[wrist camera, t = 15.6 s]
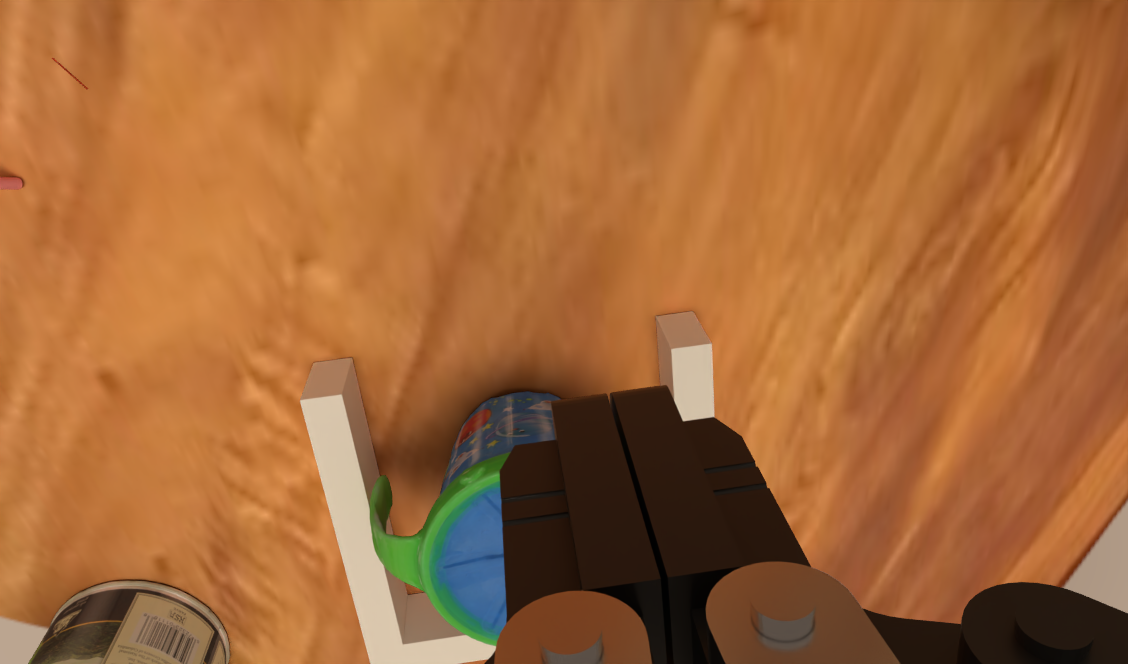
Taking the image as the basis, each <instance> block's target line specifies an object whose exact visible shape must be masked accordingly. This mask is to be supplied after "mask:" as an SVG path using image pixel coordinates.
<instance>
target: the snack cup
mask: <svg viewBox="0 0 1128 664" xmlns="http://www.w3.org/2000/svg"><path fill="white" fill-rule="evenodd" d="M555 400H561V399H560V398H559V397H557V396H554V395H552V394H550V393H545V394H544V393H533V392H529V391H526V392H518V393H511V394H508V395H504V396H501V397H498V398H490V399H489V400H487V401H485V402H483V403H482V404H481V405H480V406H479V407H478V408H477V409H476V410H475V411H474V412H473V413H472V414H471V415H470V416H469V418H468V419H467V420H466V422H465V423H464V424H463V426H462V428H461V430H460V432H459V434H458V436H457V439H456V441H455V443H454V446H453V449H452V453H451V458H450V461H449V465H448V467H447V470H446V473H445V476H444V480H443V483H442V488H441V492H440V496H439V498H438V499H437V500H436V502H435V504H434V505H433V507H432V509H431V511H430V513H429V515H428V517H427V520H426V522H425V524H424V526H423V528H422V529H421V530H420V531H419V532H418V533H417V534H415V535H413V536H404V537H402V536H397V535H391V534H386V524H387V520H388V517H389V513H390V509H391V506H392V492H391V487H390V483H389V480H388V478H387V477H386V476H385V475H381V476H380V477H379V478H378V479H377V481H376V483H375V485H374V487H373V490H372V495H371V498H370V525H371V532H372V540H373V545H374V549H375V552H376V554H377V556H378V558H379V560H380V561H381V563H382V564H383V565H384V566H385V568H386V569H387V570H388V571H389V572H390V573H391V574H392V575H394V576H395V577H397V578H398V579H400V580H401V581H403V582H405V583H407V584H410V585H412V586H414V587H416V588H419V589H420V590H422V591H424V592H425V593H426V594H427V596H428V598H429V599H430V601H431V603H432V605H433V606H434V608H435V609H436V610H437V611H438V613H439V614H440V615H441V616H442V617H443V618H444V619H445V621H447V622H448V623H449V624H450V625H451V626H453V627H454V628H456V629H457V630H458V631H460V632H462V633H463V634H465V635H467V636H469V637H470V638H472V639H475V640H477V641H480V642H483V643H485V644H488V645H493V646H496V644H497V640H498V638H499V635H500V633H501V631H502V629H503V628H504V626H505V625H506V618H507V612H506V592H505V572H504V552H503V533H502V527H503V526H502V513H501V493H500V474H499V471H500V469H501V468H502V466H503V464H504V462H505V461H506V459H507V457H508V456H509V454H510V452H511V451H512V449H513V447H514V446H515V445H520V444H528V443H535V442H542V441H549V440H555V434H554V426H553V418H552V410H551V401H555Z"/></svg>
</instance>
